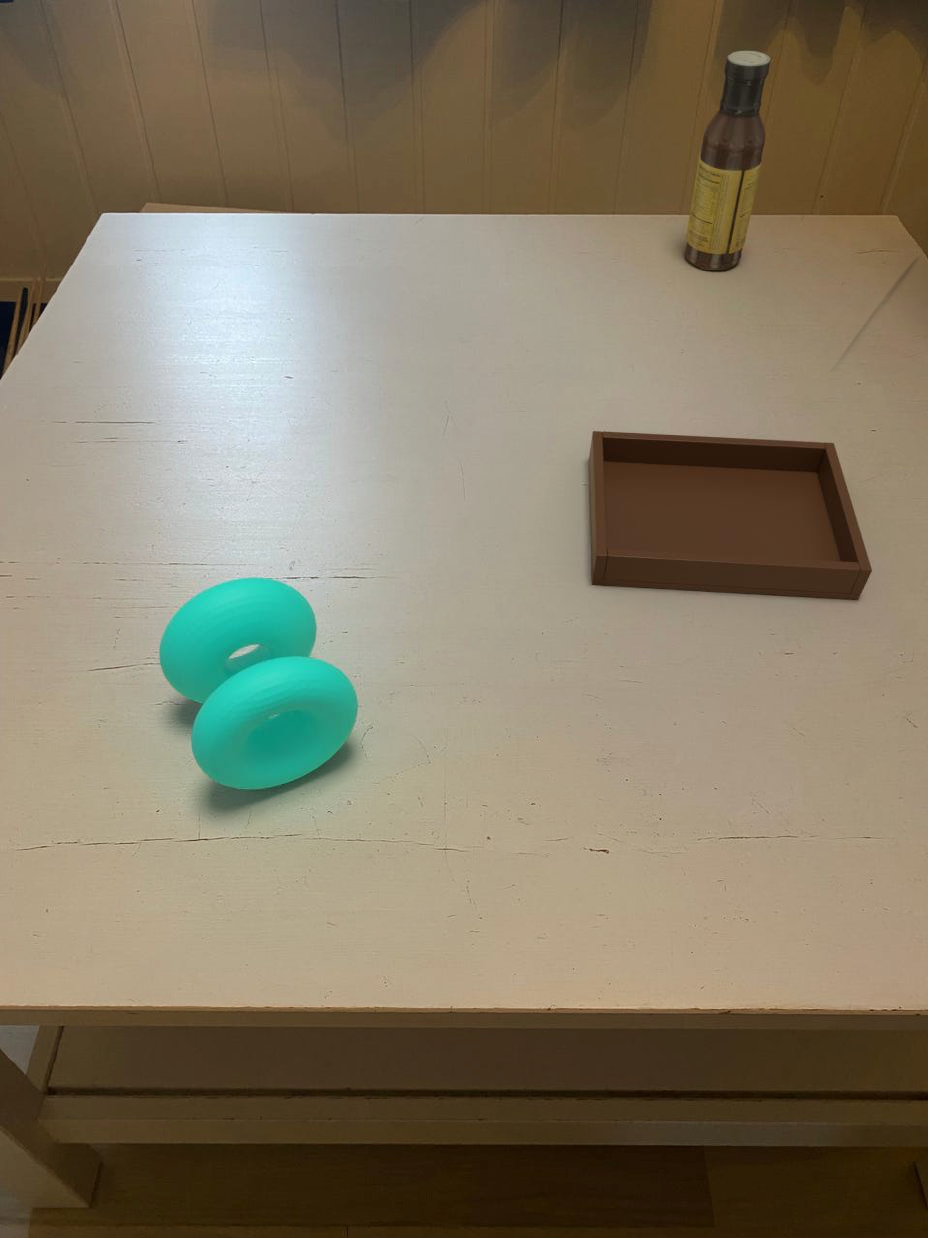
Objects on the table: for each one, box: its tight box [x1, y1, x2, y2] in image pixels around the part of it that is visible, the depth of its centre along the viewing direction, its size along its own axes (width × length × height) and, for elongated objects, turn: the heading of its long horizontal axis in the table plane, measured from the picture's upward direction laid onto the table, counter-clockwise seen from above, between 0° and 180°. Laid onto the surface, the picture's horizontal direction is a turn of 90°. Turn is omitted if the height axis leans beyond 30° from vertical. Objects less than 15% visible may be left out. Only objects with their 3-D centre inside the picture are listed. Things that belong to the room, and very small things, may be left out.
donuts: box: [158, 577, 359, 790], centre depth 58 cm, size 10×10×10 cm
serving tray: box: [588, 430, 873, 600], centre depth 74 cm, size 20×15×3 cm
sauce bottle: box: [684, 50, 771, 271], centre depth 95 cm, size 6×6×20 cm
